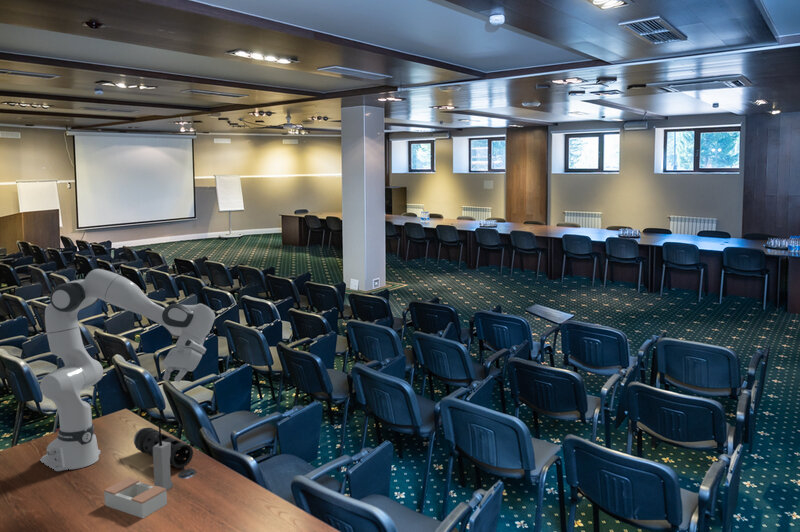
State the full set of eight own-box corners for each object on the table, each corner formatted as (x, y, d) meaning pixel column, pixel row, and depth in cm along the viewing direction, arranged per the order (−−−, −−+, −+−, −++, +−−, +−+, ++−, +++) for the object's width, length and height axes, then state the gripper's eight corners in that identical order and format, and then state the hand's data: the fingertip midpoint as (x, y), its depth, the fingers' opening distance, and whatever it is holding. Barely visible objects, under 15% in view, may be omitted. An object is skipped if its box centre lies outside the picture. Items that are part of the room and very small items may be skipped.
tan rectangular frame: (105, 505, 208) (104, 489, 207) (129, 492, 217) (128, 477, 216) (143, 518, 200) (142, 502, 199) (167, 504, 209) (166, 488, 208)
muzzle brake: (172, 474, 230) (171, 448, 229) (132, 454, 247) (131, 430, 246) (194, 465, 238) (193, 440, 236) (154, 447, 255) (153, 423, 253)
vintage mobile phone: (173, 487, 221) (169, 420, 217) (163, 493, 216) (160, 425, 213) (164, 485, 222) (161, 418, 219) (154, 491, 217) (151, 424, 214)
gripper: (169, 341, 233) (151, 375, 228) (194, 342, 219) (175, 378, 213) (183, 348, 237) (165, 382, 231) (208, 350, 222) (190, 385, 217)
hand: (170, 380), depth 222 cm, fingers open, 8 cm apart
